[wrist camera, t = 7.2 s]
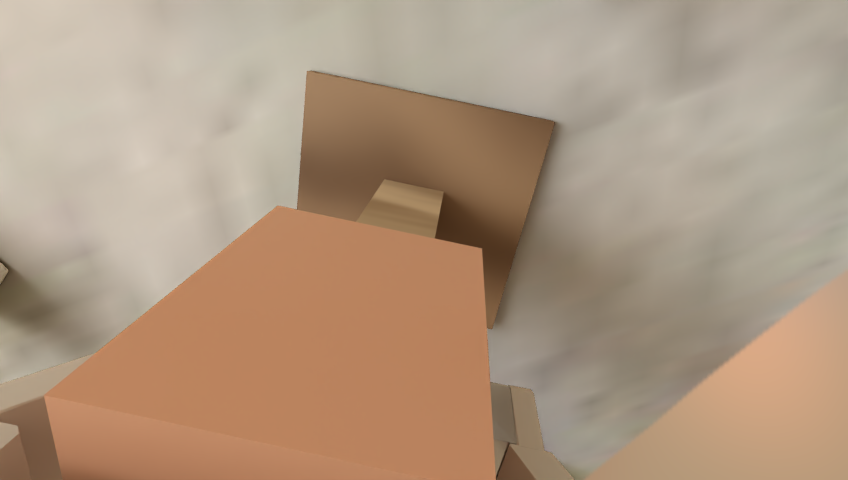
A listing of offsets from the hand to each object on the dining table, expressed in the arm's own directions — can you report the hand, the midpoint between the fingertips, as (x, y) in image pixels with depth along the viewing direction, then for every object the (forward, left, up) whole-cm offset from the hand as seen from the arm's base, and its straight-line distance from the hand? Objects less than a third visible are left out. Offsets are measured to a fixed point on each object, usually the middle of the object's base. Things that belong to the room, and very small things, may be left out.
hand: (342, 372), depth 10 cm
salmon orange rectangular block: (0, 0, -2) cm, 2 cm away
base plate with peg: (0, 0, -11) cm, 11 cm away
